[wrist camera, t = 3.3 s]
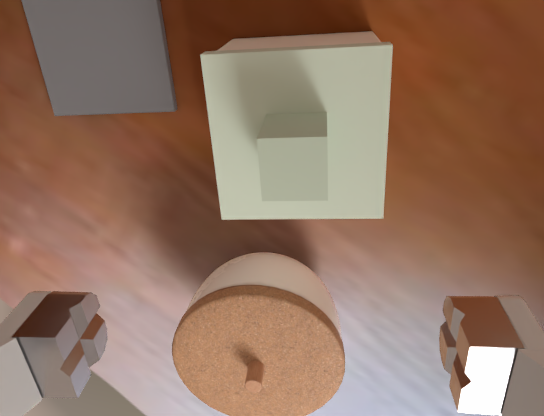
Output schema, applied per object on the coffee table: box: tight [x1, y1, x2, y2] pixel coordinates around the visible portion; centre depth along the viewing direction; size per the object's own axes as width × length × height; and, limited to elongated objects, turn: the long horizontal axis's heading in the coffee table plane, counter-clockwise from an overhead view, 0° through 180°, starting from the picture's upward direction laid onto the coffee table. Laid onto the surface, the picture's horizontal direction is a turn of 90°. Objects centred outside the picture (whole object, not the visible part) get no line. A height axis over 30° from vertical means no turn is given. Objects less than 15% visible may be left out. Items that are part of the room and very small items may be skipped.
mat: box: [22, 0, 177, 116], centre depth 27 cm, size 8×8×1 cm
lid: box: [200, 42, 393, 220], centre depth 21 cm, size 8×8×4 cm
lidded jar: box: [172, 252, 345, 416], centre depth 30 cm, size 11×11×9 cm
